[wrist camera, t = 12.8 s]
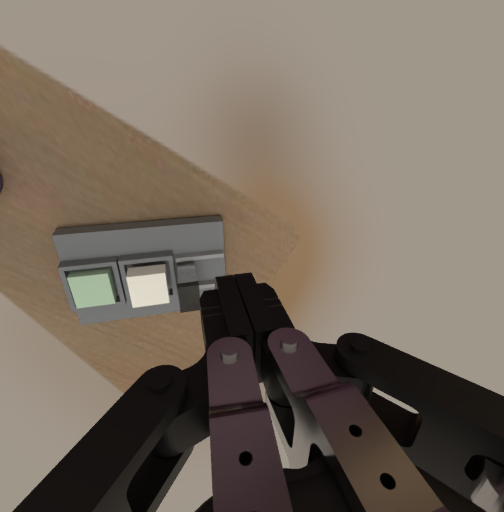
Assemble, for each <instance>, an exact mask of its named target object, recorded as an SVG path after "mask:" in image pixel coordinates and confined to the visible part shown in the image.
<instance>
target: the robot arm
mask: <svg viewBox="0 0 504 512" xmlns="http://www.w3.org/2000/svg"><path fill="white" fill-rule="evenodd" d="M199 301H200V312H201V323H202V332H203V338H204V345H205V354H204V356H203V357H202V358H201V360H199V361H198V362H197V363H196V364H194V365H193V366H191V367H189V368H187V369H184V370H181V369H180V368H178V367H176V366H172V365H160V366H157V367H154V368H151V369H150V370H148V371H146V372H145V373H144V374H143V375H142V376H140V378H139V379H138V380H137V381H136V382H135V383H134V384H133V385H132V386H131V387H130V388H129V389H128V390H127V391H126V392H125V393H124V394H123V395H122V397H121V398H120V399H119V400H118V401H117V402H116V403H115V404H114V405H113V406H112V407H111V408H110V409H109V410H108V411H107V413H106V414H105V415H104V416H103V417H102V418H101V419H100V420H99V421H98V422H97V423H96V424H95V425H94V426H93V427H92V428H91V429H90V430H89V432H88V433H86V435H85V436H84V437H83V438H82V439H81V440H80V441H79V442H78V443H77V444H76V445H75V446H74V447H73V448H72V449H71V450H70V452H69V453H68V454H67V455H66V456H65V457H64V458H63V459H62V460H61V461H60V462H59V463H58V464H57V465H56V466H55V468H53V469H52V471H50V473H49V474H48V475H47V476H46V477H45V478H44V479H43V480H42V481H41V482H40V483H39V484H38V485H37V486H36V487H35V488H34V490H32V492H31V493H30V494H29V495H28V496H27V497H26V498H25V499H24V500H23V501H22V502H21V503H20V504H19V505H18V506H17V507H16V509H14V511H13V512H156V510H157V509H158V507H159V505H160V504H161V502H162V500H163V499H164V497H165V496H166V494H167V492H168V490H169V489H170V487H171V486H172V484H173V482H174V480H175V479H176V477H177V476H178V474H179V472H180V471H181V469H182V467H183V466H184V464H185V463H186V461H187V459H188V457H189V456H190V454H191V452H192V450H193V447H194V445H195V444H197V443H199V442H200V441H202V440H204V439H205V438H207V437H209V436H210V448H211V470H212V492H213V496H212V497H210V498H209V499H208V500H207V501H205V502H204V503H203V504H202V505H201V506H200V507H199V508H198V509H197V510H196V511H195V512H504V396H502V395H500V394H497V393H495V392H493V391H491V390H488V389H486V388H484V387H482V386H479V385H477V384H475V383H473V382H470V381H468V380H466V379H464V378H461V377H459V376H457V375H454V374H452V373H450V372H448V371H445V370H443V369H441V368H439V367H436V366H434V365H432V364H429V363H427V362H425V361H423V360H421V359H418V358H416V357H414V356H411V355H409V354H407V353H405V352H402V351H400V350H398V349H396V348H393V347H391V346H389V345H387V344H384V343H382V342H380V341H378V340H375V339H373V338H371V337H368V336H366V335H363V334H359V333H347V334H344V335H342V336H340V337H339V339H338V340H337V344H326V343H317V342H313V341H310V339H309V338H308V336H307V335H306V334H305V333H303V332H302V331H300V330H297V329H295V327H294V326H293V324H292V322H291V320H290V318H289V316H288V315H287V313H286V311H285V309H284V307H283V306H282V303H281V302H280V300H279V299H278V296H277V294H276V292H275V290H274V289H273V288H272V287H270V286H269V285H268V284H266V283H259V284H257V283H256V281H255V279H254V277H253V275H252V273H243V274H234V275H227V276H218V277H215V289H213V290H206V291H203V293H202V295H201V297H200V299H199ZM261 382H263V383H264V386H265V389H266V393H265V401H266V403H264V402H263V399H262V395H261V390H260V386H259V383H261ZM373 387H375V388H377V389H378V390H380V391H382V392H384V393H386V394H388V395H390V396H392V397H394V398H395V399H397V400H399V401H401V402H403V403H405V404H407V405H409V406H411V407H413V408H414V409H415V410H417V411H418V412H419V414H415V413H412V412H410V411H408V410H406V409H404V408H402V407H400V406H398V405H396V404H395V403H393V402H391V401H389V400H387V399H385V398H384V397H382V396H379V395H378V394H376V393H374V392H372V391H373ZM270 414H271V416H270ZM271 417H272V419H273V422H274V424H275V426H276V429H277V431H278V434H279V436H280V439H281V441H282V444H283V446H284V449H285V451H286V454H287V456H288V460H289V465H290V469H288V468H283V467H282V463H281V459H280V454H279V450H278V446H277V441H276V437H275V433H274V429H273V425H272V420H271Z"/></svg>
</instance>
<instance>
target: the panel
mask: <svg viewBox="0 0 504 512" xmlns="http://www.w3.org/2000/svg"><path fill="white" fill-rule="evenodd" d="M52 239H53V242H54V245H55V248H56V251H57V254H58V257H59V260H60V264H59V266H58V267H57V269H58V272H59V275H60V278H61V281H62V283H63V286H64V289H65V292H66V295H67V298H68V301H69V304H70V307H71V310H72V312H74V311H77V314H78V317H79V320H80V323H81V325H85V324H92V323H99V322H106V321H113V320H120V319H127V318H134V317H141V316H148V315H155V314H162V313H169V312H176V311H180V305H179V297H178V290H177V284H178V274H177V262H183V261H193V260H194V264H195V270H196V276H197V281H198V282H199V291H200V297H201V295H202V293H203V291H206V290H213V289H215V277H218V276H225V260H224V236H223V220H222V218H221V216H220V215H217V216H205V217H192V218H180V219H167V220H155V221H142V222H129V223H117V224H104V225H92V226H79V227H67V228H57V229H56V231H55V232H54V233H53V234H52ZM161 264H165V266H166V273H167V279H168V286H169V294H170V303H165V304H158V305H150V306H143V307H136V308H133V307H132V302H131V298H130V293H129V289H128V284H127V280H126V275H127V271H128V268H133V267H143V266H152V265H161ZM109 266H111V268H112V272H113V276H114V281H115V285H116V289H117V293H118V294H117V299H116V303H115V304H108V305H100V306H93V307H85V308H78V309H77V307H76V304H75V301H74V298H73V295H72V292H71V289H70V286H69V283H68V280H67V277H68V275H69V273H70V271H71V270H81V269H90V268H100V267H109Z"/></svg>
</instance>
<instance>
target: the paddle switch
mask: <svg viewBox="0 0 504 512" xmlns="http://www.w3.org/2000/svg"><path fill="white" fill-rule="evenodd" d="M177 274H178V284H177V290H178V297H179V305H180V313H182V312H189V311H196V310H200V301H199V299H200V291H199V282H198V281H197V276H196V270H195V264H194V260H193V261H183V262H177Z"/></svg>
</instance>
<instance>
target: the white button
mask: <svg viewBox="0 0 504 512" xmlns="http://www.w3.org/2000/svg"><path fill="white" fill-rule="evenodd" d="M126 280H127V284H128V289H129V293H130V298H131V302H132V307H133V308H136V307H143V306H150V305H158V304H165V303H170V294H169V286H168V279H167V273H166V266H165V264H161V265H152V266H143V267H133V268H128V271H127V275H126Z"/></svg>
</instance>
